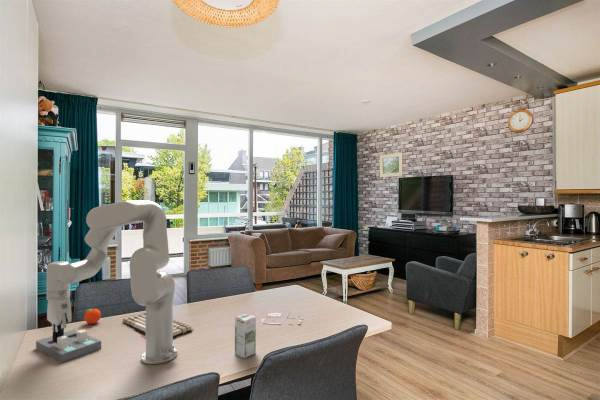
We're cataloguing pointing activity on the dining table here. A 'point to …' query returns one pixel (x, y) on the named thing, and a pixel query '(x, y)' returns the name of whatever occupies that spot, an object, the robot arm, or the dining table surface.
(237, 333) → the syrup box
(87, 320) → the clementine
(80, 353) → the switch panel
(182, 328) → the mechanical keyboard
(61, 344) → the tab
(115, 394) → the dining table surface
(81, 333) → the tab
